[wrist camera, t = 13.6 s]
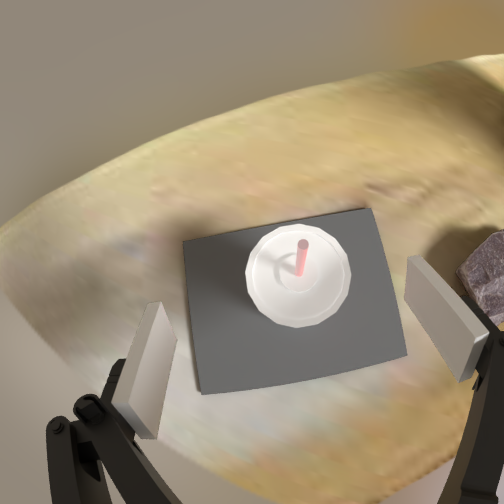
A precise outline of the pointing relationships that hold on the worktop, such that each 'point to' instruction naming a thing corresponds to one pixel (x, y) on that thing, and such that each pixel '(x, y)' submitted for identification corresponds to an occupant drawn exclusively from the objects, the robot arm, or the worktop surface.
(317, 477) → the worktop surface
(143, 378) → the robot arm
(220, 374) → the stop mat
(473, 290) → the rock
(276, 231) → the beverage cup
